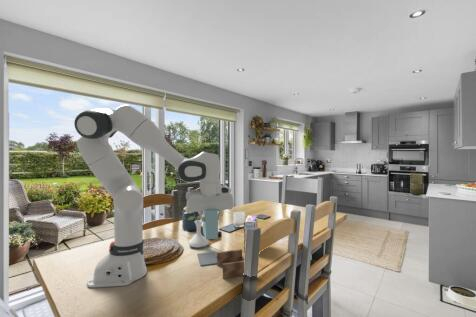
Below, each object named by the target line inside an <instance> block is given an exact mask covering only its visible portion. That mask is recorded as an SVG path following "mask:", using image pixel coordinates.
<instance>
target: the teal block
mask: <svg viewBox="0 0 476 317" xmlns="http://www.w3.org/2000/svg"><path fill="white" fill-rule="evenodd" d="M218 213H219V212H218V210H217V209H206V210H205V211H202V217H203V216H204V217H205V221H203V222H202V235H203V236H204V237H205V238H206V240H208V241H209V240H216V239H217V240H218V239H219V220H218Z"/></svg>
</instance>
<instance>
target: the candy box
mask: <svg viewBox="0 0 476 317" xmlns="http://www.w3.org/2000/svg"><path fill="white" fill-rule="evenodd" d="M250 227H259V226H258V215H249V214H248V215H247V217H246V218H245V220H244V221H243V253H246V252H245V241H246V231H247V229H248V228H250Z"/></svg>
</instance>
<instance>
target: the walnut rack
mask: <svg viewBox="0 0 476 317" xmlns="http://www.w3.org/2000/svg"><path fill="white" fill-rule="evenodd" d="M216 256H217V264H216V265H217V267H220V266H222V279H223V280H224V279H231V278H232V279H233V278H238V277H244V276H243V273H244V260H245V258H244V256H243V249H233V250H225V251H217V252H216Z"/></svg>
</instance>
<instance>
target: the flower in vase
mask: <svg viewBox="0 0 476 317" xmlns="http://www.w3.org/2000/svg"><path fill="white" fill-rule="evenodd" d="M185 207H187V205H186V206H185ZM185 211H186V213H192V212H188V211H187V208H186V209H185ZM193 213H194V212H193ZM194 218H195V219H196V217H195V215H194V217H193V216H191V217H189V218H188V220H193V219H194ZM200 218H201V217H200V216H198V217H197V219H200ZM197 219H196V221H194V222H195V224H196V228H197V230H196V234H195V235H194V236H193V237H192V238H191V239H190V240H189V241H188V246H190V247H192V248H203V247H206V246H208V245H209V243H210V241H209V239H208V240H206V238H205V236H204V234H203V233H202V232H201V230H202V225H203V222H201V220H197Z"/></svg>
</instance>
